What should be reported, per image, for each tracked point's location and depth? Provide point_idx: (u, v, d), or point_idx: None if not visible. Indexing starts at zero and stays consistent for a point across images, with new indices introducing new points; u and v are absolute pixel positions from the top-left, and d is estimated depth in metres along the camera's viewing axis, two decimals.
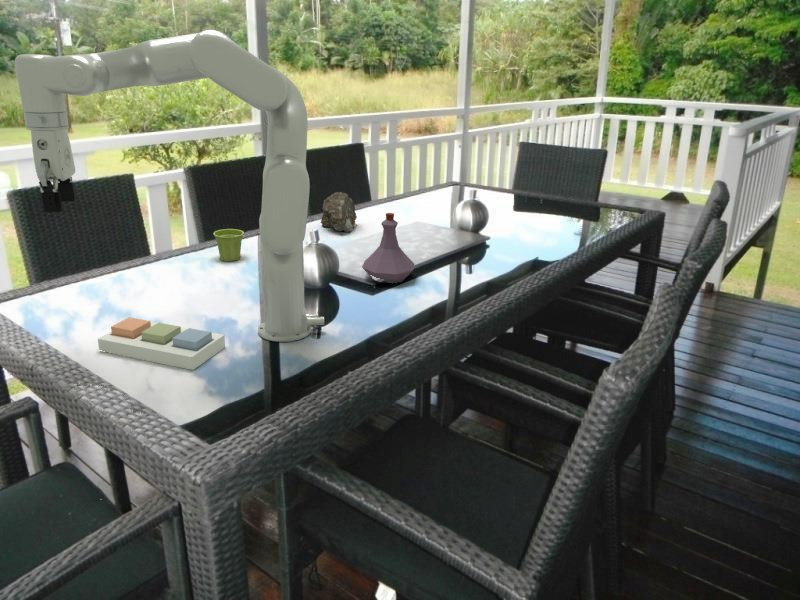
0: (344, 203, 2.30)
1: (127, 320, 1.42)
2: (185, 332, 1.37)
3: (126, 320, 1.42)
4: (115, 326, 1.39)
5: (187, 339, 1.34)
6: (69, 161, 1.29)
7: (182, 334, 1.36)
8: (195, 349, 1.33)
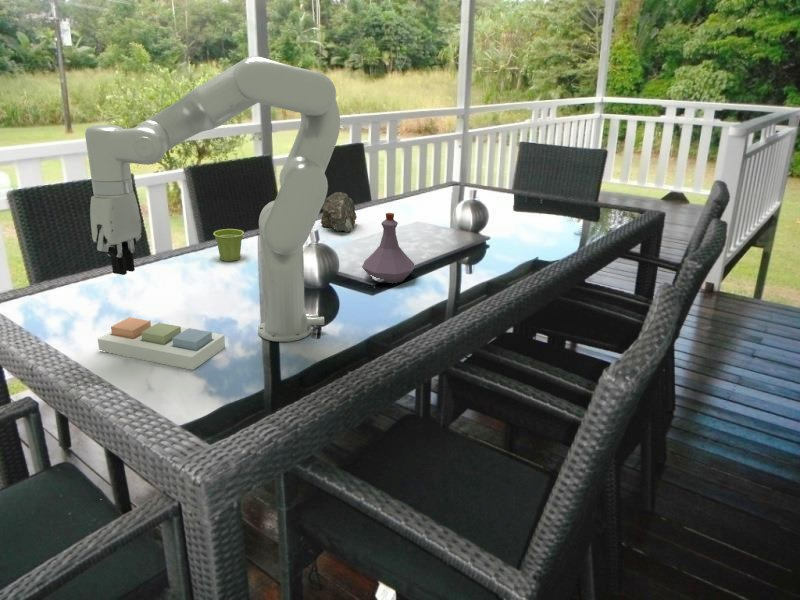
0: (344, 203, 2.30)
1: (127, 320, 1.42)
2: (185, 332, 1.37)
3: (126, 320, 1.42)
4: (115, 326, 1.39)
5: (187, 339, 1.34)
6: None
7: (182, 334, 1.36)
8: (195, 349, 1.33)
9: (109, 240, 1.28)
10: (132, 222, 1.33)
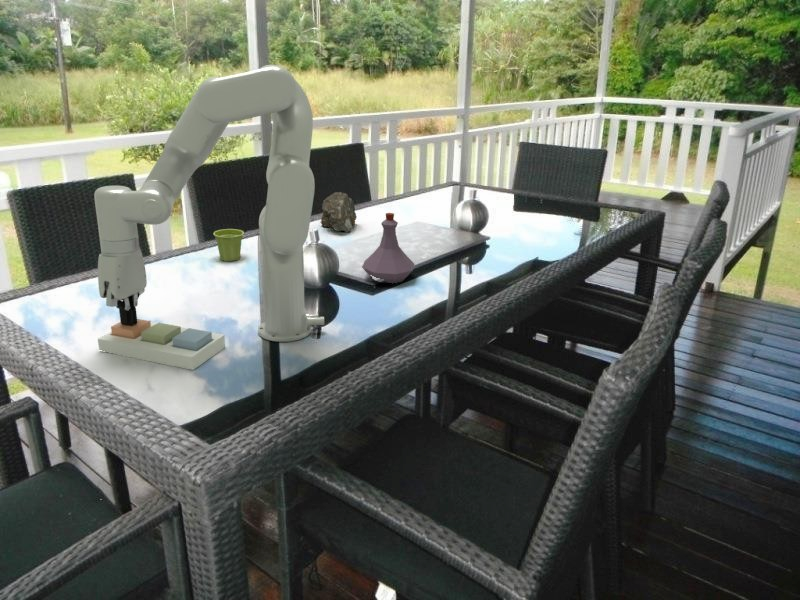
0: (343, 203, 2.30)
1: None
2: (185, 332, 1.37)
3: None
4: (115, 326, 1.39)
5: (187, 339, 1.34)
6: None
7: (182, 334, 1.36)
8: (195, 349, 1.33)
9: (116, 296, 1.33)
10: (137, 277, 1.37)
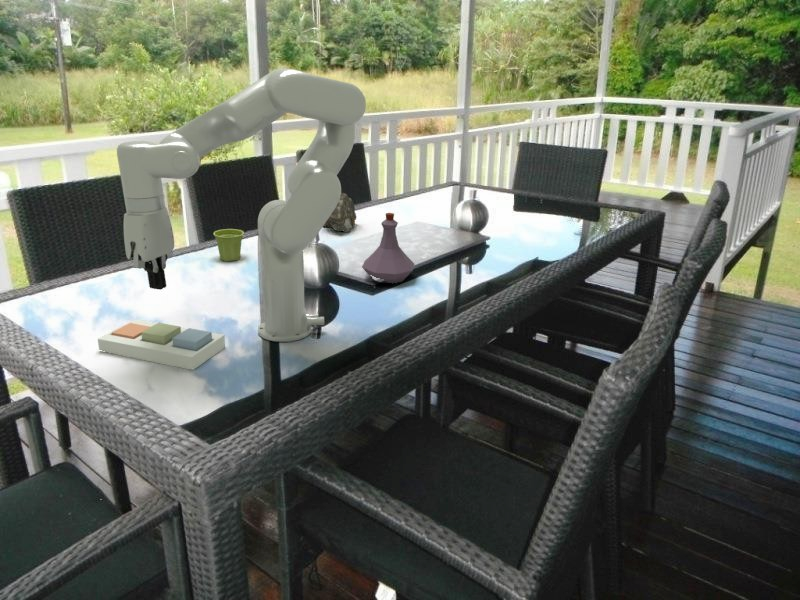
0: (343, 203, 2.30)
1: (128, 326, 1.43)
2: (185, 332, 1.37)
3: (127, 326, 1.43)
4: (116, 332, 1.39)
5: (187, 339, 1.34)
6: None
7: (182, 334, 1.36)
8: (195, 349, 1.33)
9: (143, 257, 1.27)
10: (165, 238, 1.32)
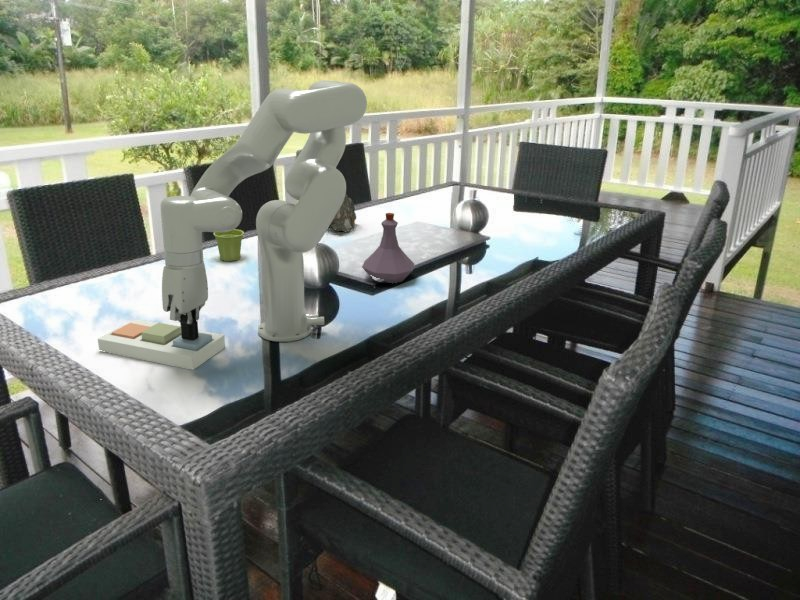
0: (342, 203, 2.30)
1: (128, 326, 1.43)
2: None
3: (127, 326, 1.43)
4: (116, 332, 1.39)
5: (187, 342, 1.34)
6: None
7: None
8: None
9: (180, 310, 1.28)
10: (200, 290, 1.33)
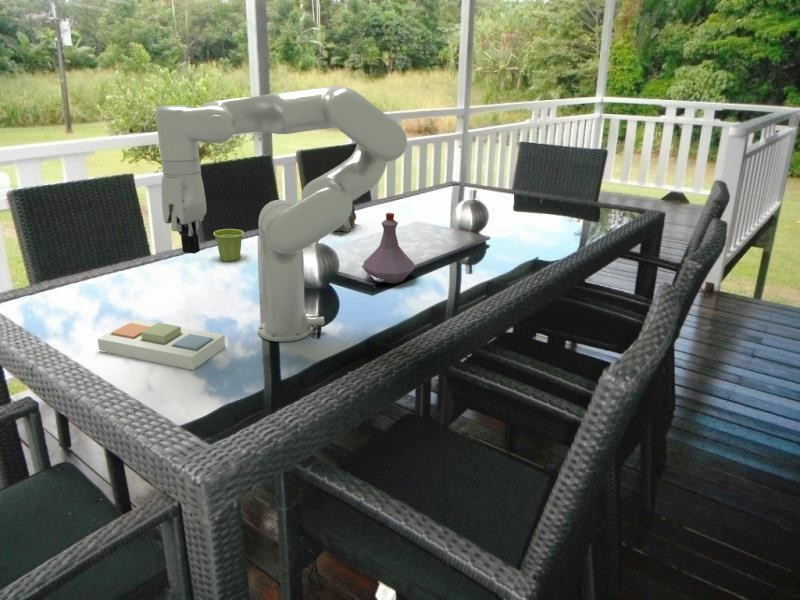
0: None
1: (128, 326, 1.43)
2: (186, 338, 1.38)
3: (127, 326, 1.43)
4: (116, 332, 1.39)
5: (187, 345, 1.34)
6: None
7: (183, 340, 1.37)
8: None
9: (181, 219, 1.29)
10: (199, 202, 1.34)
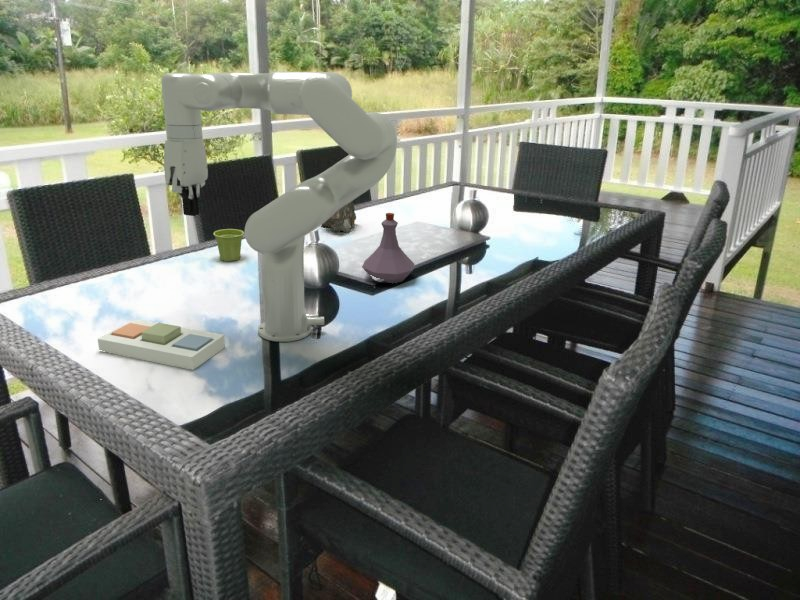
0: None
1: (128, 326, 1.43)
2: (186, 338, 1.38)
3: (127, 326, 1.43)
4: (116, 332, 1.39)
5: (187, 345, 1.34)
6: None
7: (183, 340, 1.37)
8: None
9: (181, 181, 1.37)
10: (200, 166, 1.41)
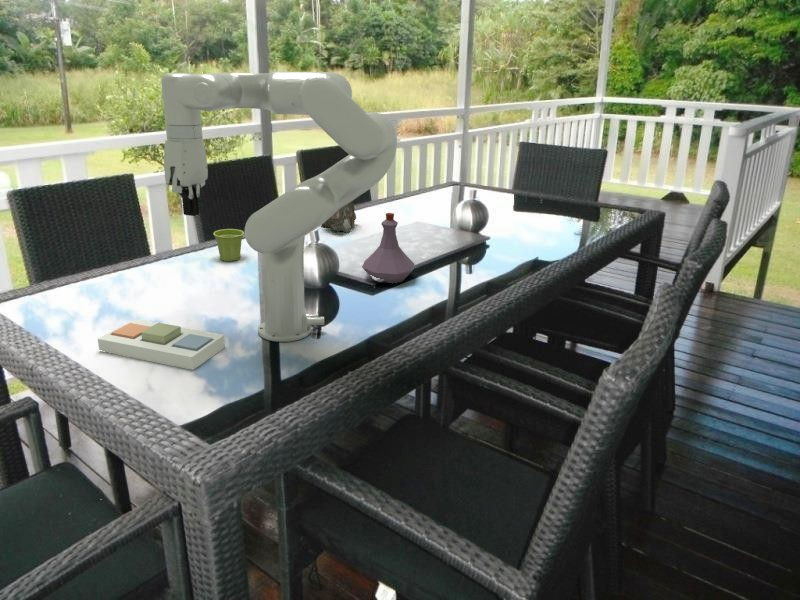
0: None
1: (128, 326, 1.43)
2: (186, 338, 1.38)
3: (127, 326, 1.43)
4: (116, 332, 1.39)
5: (187, 345, 1.34)
6: None
7: (183, 340, 1.37)
8: None
9: (181, 181, 1.37)
10: (200, 166, 1.41)
